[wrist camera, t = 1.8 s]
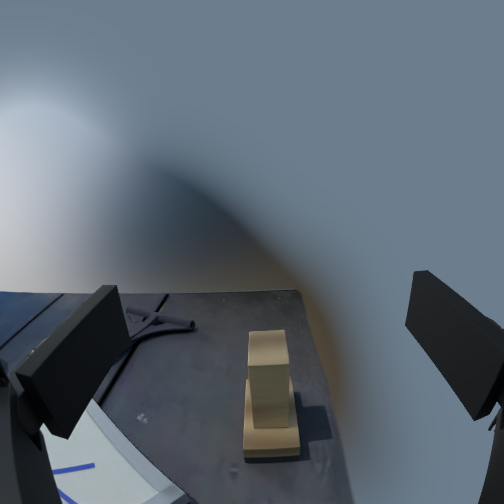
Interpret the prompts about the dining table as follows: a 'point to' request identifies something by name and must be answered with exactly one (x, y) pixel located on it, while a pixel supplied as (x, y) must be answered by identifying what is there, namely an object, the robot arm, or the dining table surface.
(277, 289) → the dining table surface
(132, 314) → the bracket
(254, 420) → the eraser
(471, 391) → the robot arm
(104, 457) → the board
